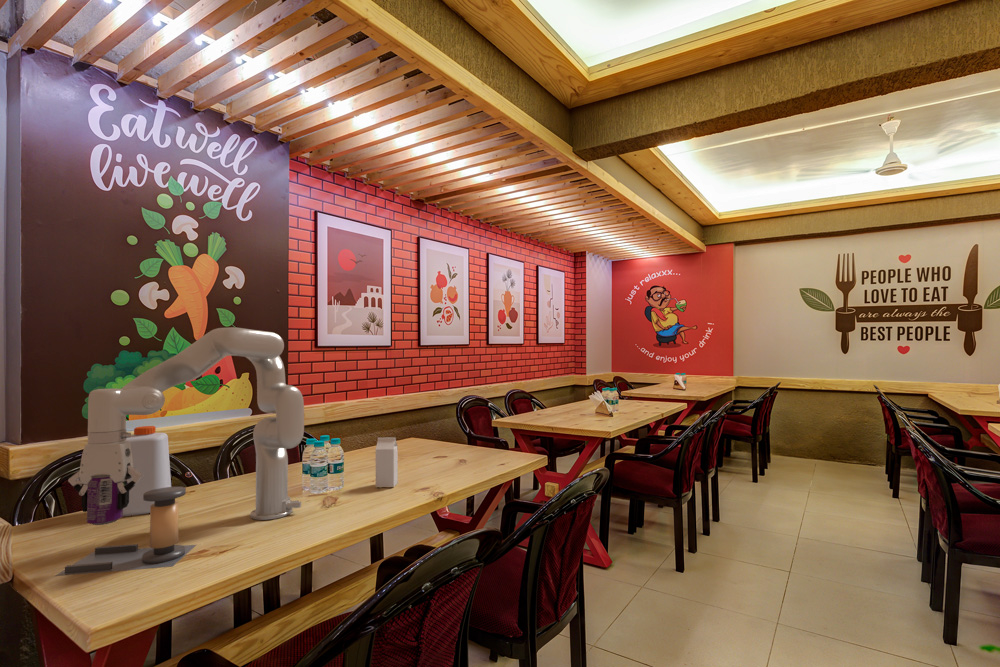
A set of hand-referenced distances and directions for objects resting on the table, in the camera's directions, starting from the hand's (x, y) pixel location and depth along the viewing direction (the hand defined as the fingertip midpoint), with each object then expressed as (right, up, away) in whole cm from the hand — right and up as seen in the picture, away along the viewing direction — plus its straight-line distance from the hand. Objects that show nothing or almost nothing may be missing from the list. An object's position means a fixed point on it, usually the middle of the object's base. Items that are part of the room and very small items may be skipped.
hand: (105, 508), depth 124 cm
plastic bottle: (-23, -16, +45) cm, 53 cm away
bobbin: (+13, -13, +2) cm, 19 cm away
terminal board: (+6, -14, 0) cm, 15 cm away
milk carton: (+54, -17, +72) cm, 91 cm away
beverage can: (0, -3, 0) cm, 3 cm away
